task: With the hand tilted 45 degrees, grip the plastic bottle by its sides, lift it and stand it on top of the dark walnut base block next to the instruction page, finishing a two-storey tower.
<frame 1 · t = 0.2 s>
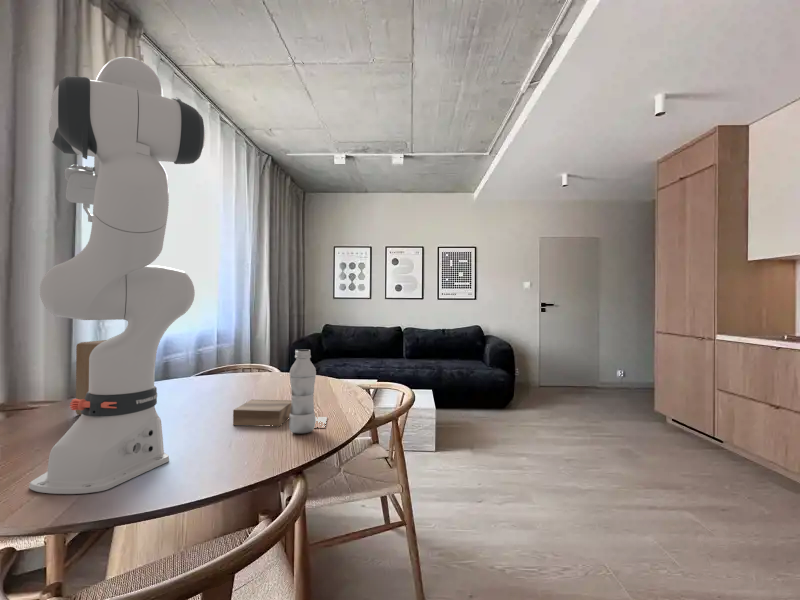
hand: (113, 223, 119), 52 cm above the table, tool tilted 20°, fingers open, 8 cm apart
instruction page: (310, 423, 116), on the table
block: (104, 413, 125), on the table
base block: (264, 419, 119), on the table
plastic bottle: (302, 433, 109), on the table
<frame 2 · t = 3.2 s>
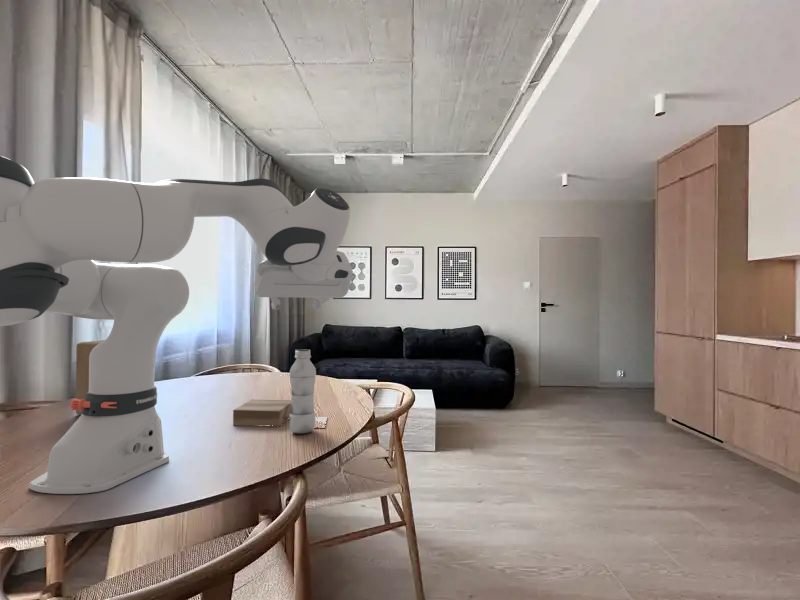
hand: (296, 307, 101), 31 cm above the table, tool tilted 45°, fingers open, 8 cm apart
nothing on the table moved.
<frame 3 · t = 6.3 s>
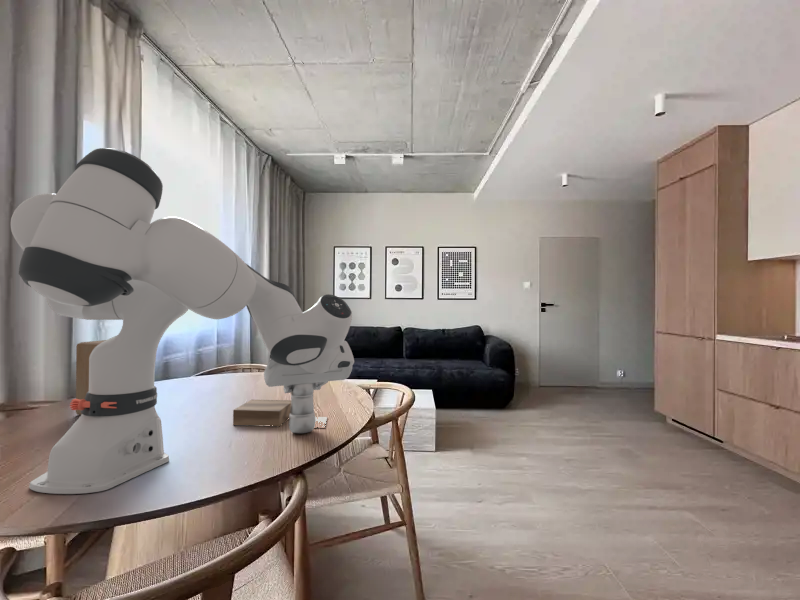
hand: (301, 389, 109), 10 cm above the table, tool tilted 45°, fingers closed on plastic bottle, 6 cm apart
plastic bottle: (302, 433, 109), on the table, touching gripper
everything else where it was.
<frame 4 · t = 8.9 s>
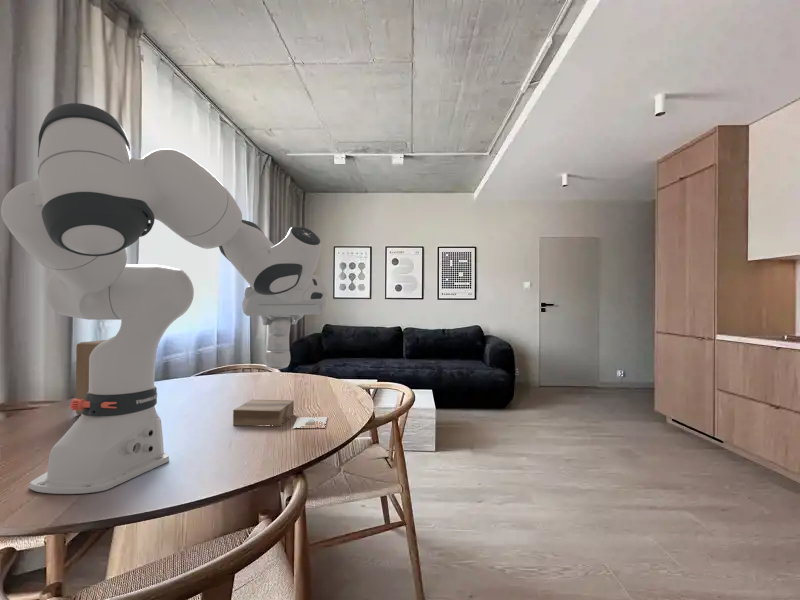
hand: (279, 322, 117), 26 cm above the table, tool tilted 45°, fingers closed on plastic bottle, 6 cm apart
plastic bottle: (277, 369, 116), point 14 cm above the table, touching gripper
everything else where it was.
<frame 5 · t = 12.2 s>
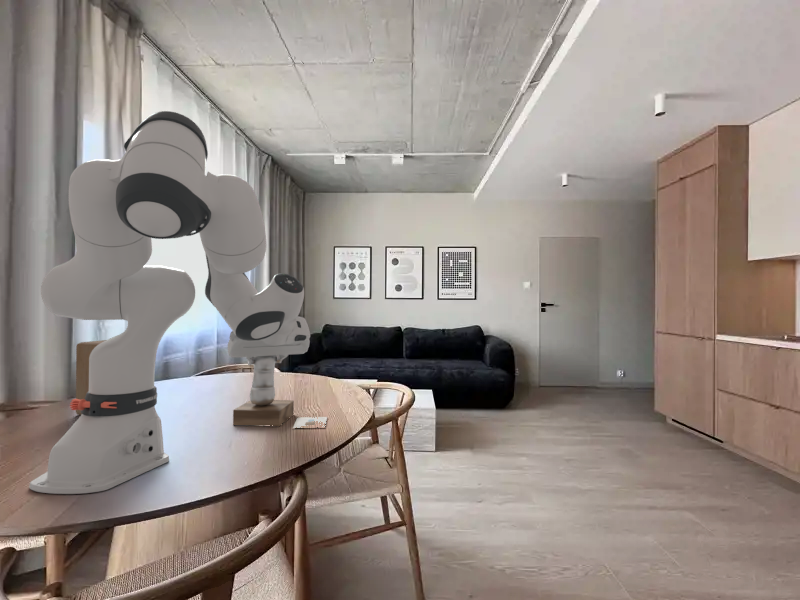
hand: (264, 362, 120), 15 cm above the table, tool tilted 45°, fingers closed on plastic bottle, 6 cm apart
plastic bottle: (261, 405, 119), point 4 cm above the table, touching base block, gripper
everything else where it was.
when the fingers open (15 cm above the table, at t = 12.2 s): plastic bottle stays where it is, resting on base block.
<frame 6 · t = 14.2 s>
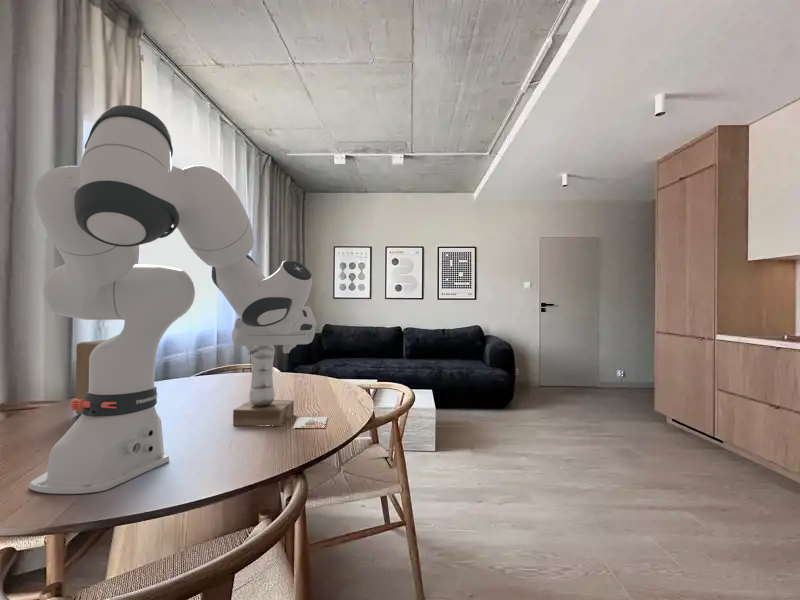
hand: (268, 351, 118), 18 cm above the table, tool tilted 45°, fingers open, 8 cm apart
plastic bottle: (261, 406, 119), point 4 cm above the table, touching base block
everything else where it was.
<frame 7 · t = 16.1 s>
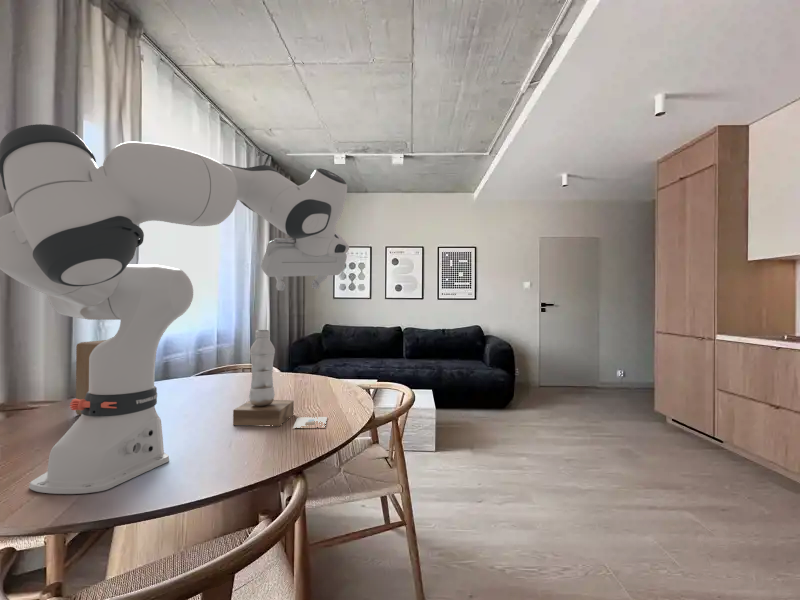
hand: (297, 288, 109), 35 cm above the table, tool tilted 35°, fingers open, 8 cm apart
nothing on the table moved.
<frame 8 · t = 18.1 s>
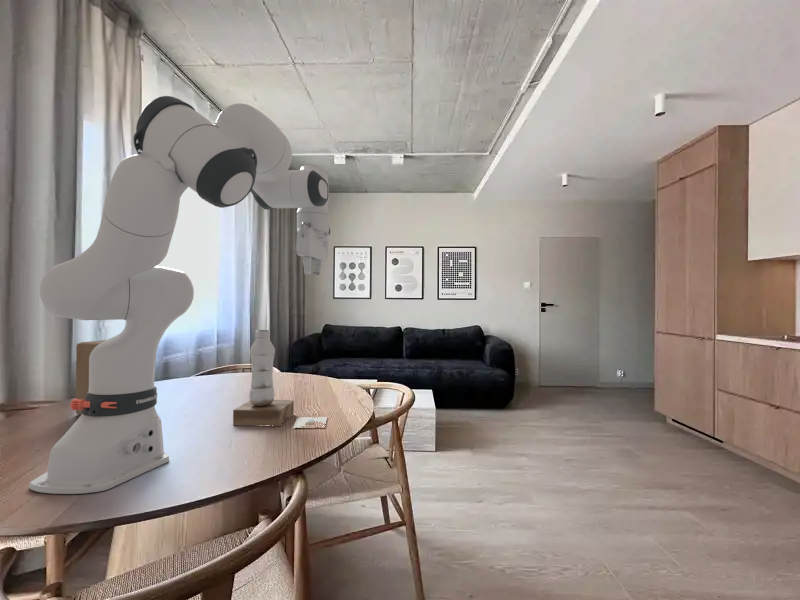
hand: (312, 275, 125), 39 cm above the table, tool pointing down, fingers open, 8 cm apart
nothing on the table moved.
at the end: plastic bottle inside the target area on the base block (0.8 cm from its centre), point 3.8 cm above the base block's base; plastic bottle tilted 0°; the gripper is holding nothing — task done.
